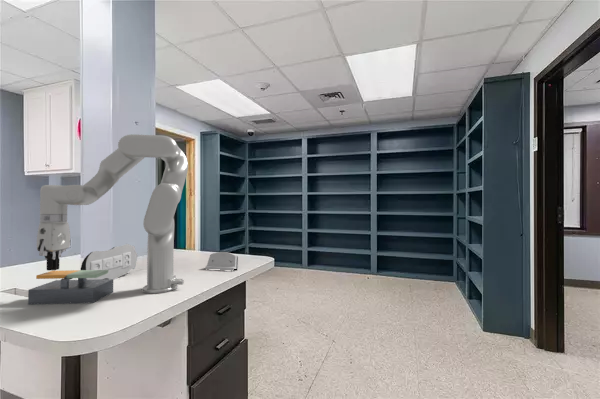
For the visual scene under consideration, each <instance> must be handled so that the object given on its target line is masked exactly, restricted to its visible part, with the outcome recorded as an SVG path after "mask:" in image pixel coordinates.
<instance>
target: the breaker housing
mask: <svg viewBox="0 0 600 399" xmlns="http://www.w3.org/2000/svg"><path fill="white" fill-rule="evenodd" d="M27 293H28V294H27V295H28V297H27V298H28V299H27V304H29V305H59V304H60V305H61V304H62V305H65V304H67V305H68V304H69V305H70V304H71V305H72V304H94V303H96V302H97V301H99V300H101V299H103V298H105V297H107V296H108V295H111V294H113V293H114V280H113V279H97V280H86V278H77V279H70V280H69V279H64V278H60V279H58V280H57V279H55V280H53V281H50V282H47V283H43V284H41V285H37V286H35V287H32V288H30V289H28V291H27Z"/></svg>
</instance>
